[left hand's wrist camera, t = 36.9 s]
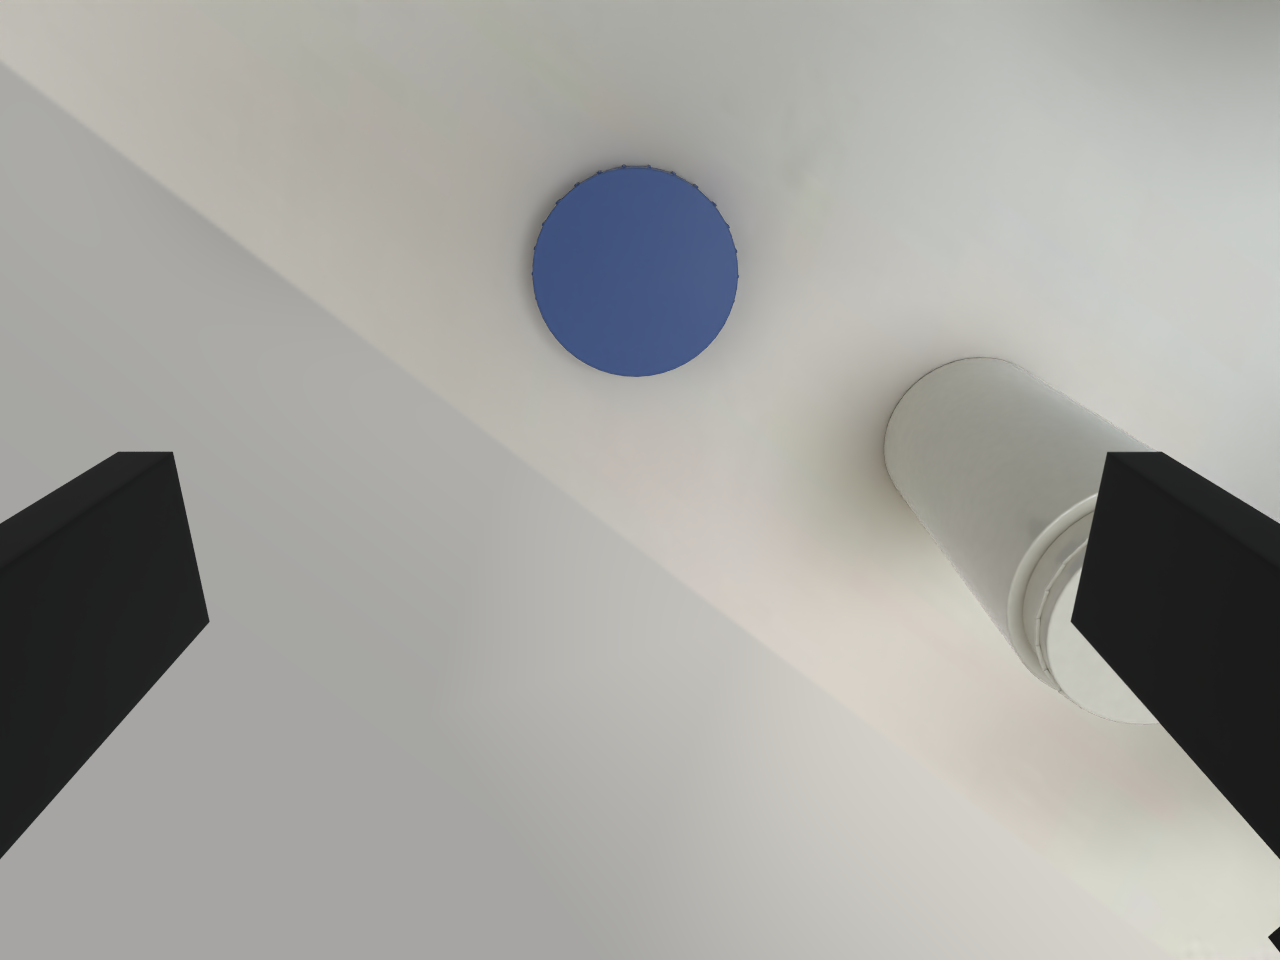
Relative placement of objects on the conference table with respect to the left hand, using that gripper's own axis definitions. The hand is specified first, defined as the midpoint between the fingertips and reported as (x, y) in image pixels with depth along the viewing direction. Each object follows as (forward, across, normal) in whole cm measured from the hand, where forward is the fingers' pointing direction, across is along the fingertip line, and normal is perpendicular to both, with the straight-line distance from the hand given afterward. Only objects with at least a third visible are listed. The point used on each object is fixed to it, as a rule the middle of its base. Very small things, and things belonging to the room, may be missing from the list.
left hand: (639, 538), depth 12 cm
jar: (+28, +16, -8) cm, 33 cm away
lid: (+26, 0, 0) cm, 26 cm away
